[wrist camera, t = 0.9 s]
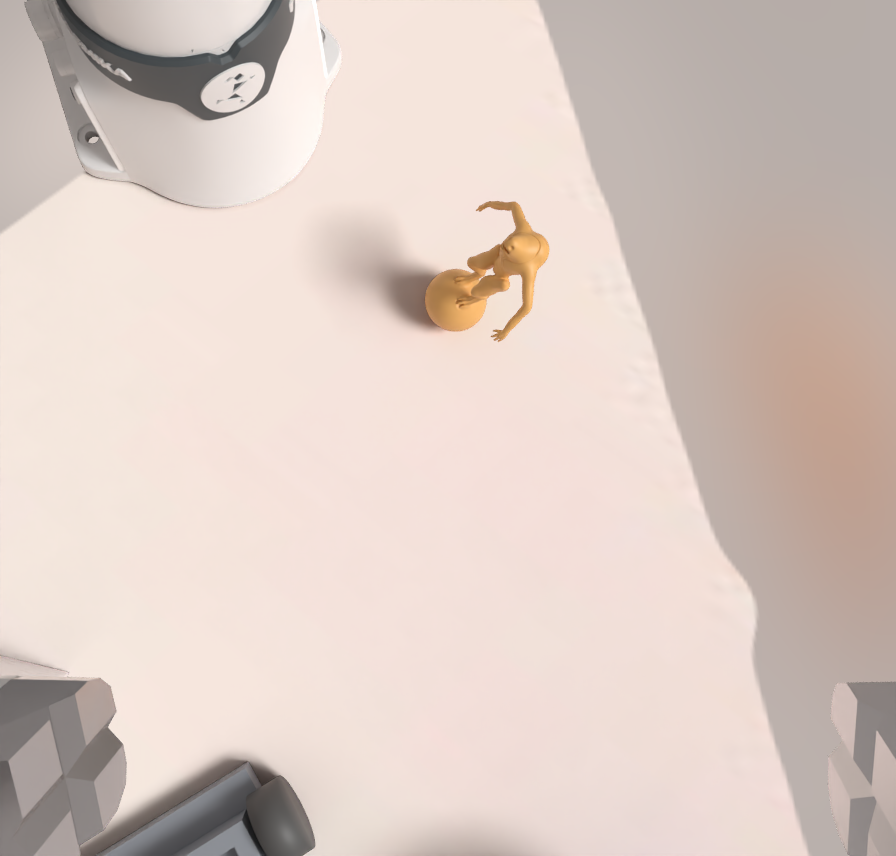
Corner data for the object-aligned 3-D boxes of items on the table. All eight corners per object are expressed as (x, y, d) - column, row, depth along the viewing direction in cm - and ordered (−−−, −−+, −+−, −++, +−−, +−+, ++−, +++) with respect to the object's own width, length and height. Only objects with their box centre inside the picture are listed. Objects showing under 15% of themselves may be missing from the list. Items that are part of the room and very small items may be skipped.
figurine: (416, 251, 54) (435, 170, 42) (503, 246, 55) (545, 165, 43) (428, 372, 53) (451, 323, 41) (517, 364, 53) (565, 314, 42)
